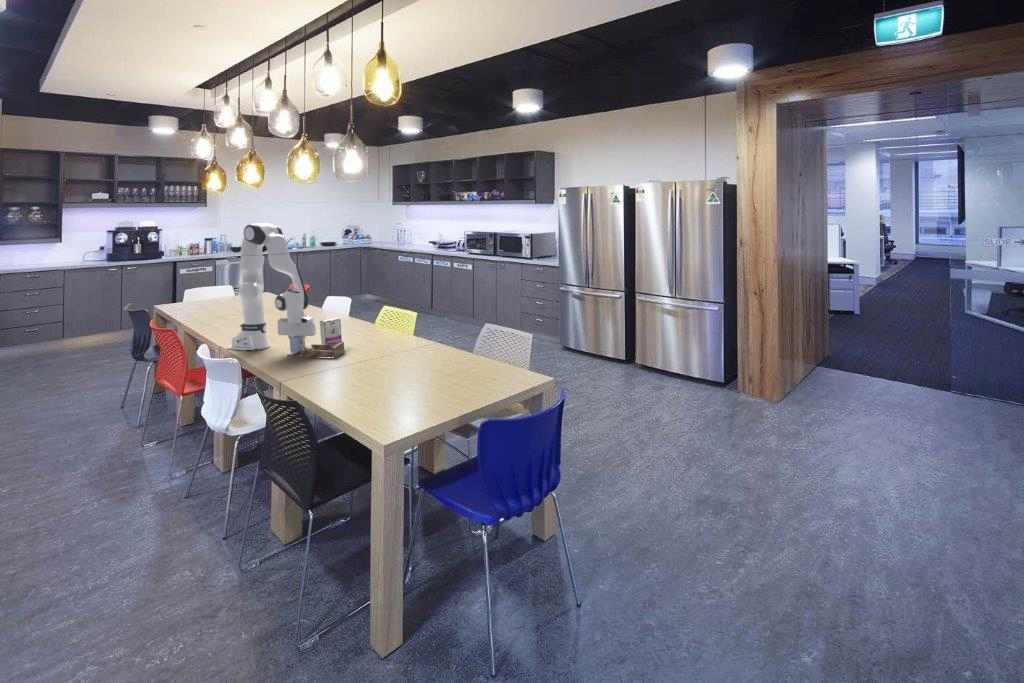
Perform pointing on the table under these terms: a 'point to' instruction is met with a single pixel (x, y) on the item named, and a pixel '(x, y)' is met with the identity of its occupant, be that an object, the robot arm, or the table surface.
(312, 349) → the offcut short
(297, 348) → the blue-grey box
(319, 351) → the tray
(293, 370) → the table surface
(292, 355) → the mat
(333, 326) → the candy bar box
